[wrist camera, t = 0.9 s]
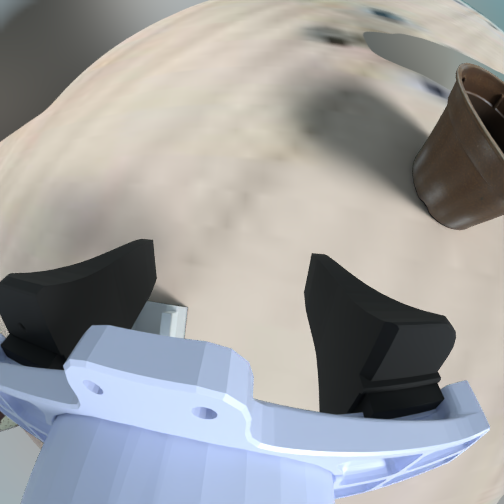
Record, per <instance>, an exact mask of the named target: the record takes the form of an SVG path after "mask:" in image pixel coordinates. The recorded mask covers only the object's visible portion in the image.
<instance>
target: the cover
mask: <svg viewBox="0 0 504 504" xmlns="http://www.w3.org/2000/svg"><path fill="white" fill-rule="evenodd" d="M177 317H178V312H175V311H168V312H162V317H161V326H160V335H164V336H170V337H175V335H176V326H177Z"/></svg>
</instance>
